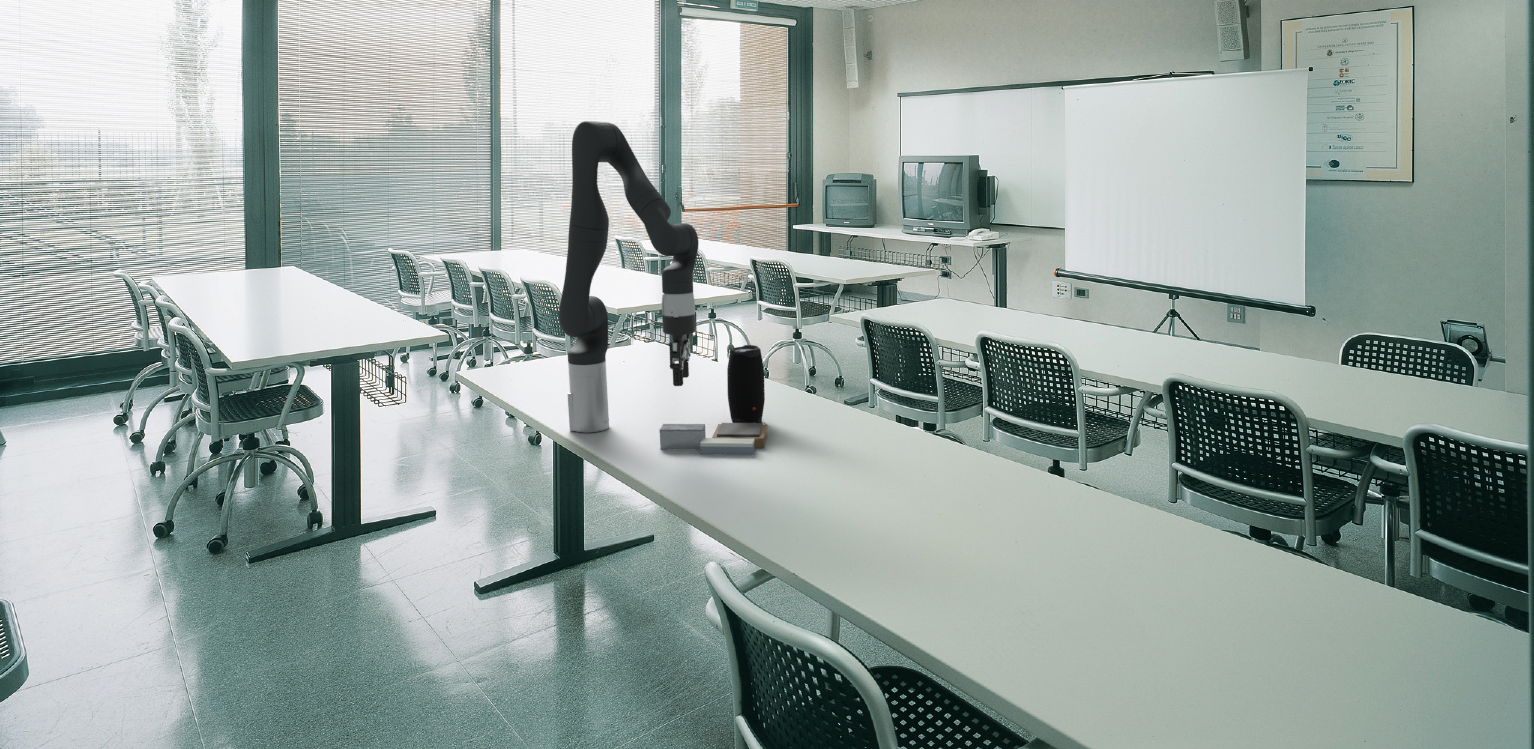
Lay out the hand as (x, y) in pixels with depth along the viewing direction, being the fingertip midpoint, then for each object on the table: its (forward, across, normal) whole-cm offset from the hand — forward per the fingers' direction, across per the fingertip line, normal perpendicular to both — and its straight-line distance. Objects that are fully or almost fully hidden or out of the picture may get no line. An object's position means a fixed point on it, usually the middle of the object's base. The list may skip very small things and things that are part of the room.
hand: (681, 381), depth 221 cm
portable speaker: (+16, -21, +13) cm, 29 cm away
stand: (+16, -5, +13) cm, 21 cm away
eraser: (+16, +4, +11) cm, 20 cm away
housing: (+16, 0, 0) cm, 16 cm away
